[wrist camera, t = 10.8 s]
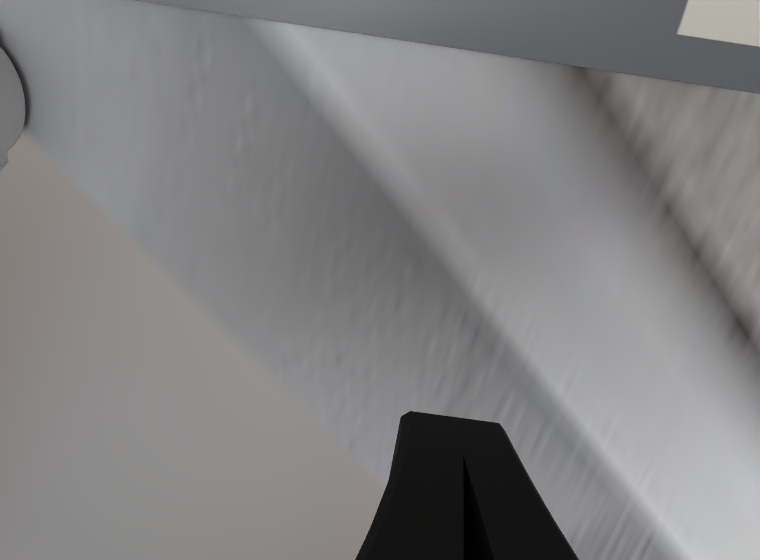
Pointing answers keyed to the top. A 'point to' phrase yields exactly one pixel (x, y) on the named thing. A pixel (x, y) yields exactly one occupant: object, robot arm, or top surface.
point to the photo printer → (10, 107)
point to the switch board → (551, 31)
